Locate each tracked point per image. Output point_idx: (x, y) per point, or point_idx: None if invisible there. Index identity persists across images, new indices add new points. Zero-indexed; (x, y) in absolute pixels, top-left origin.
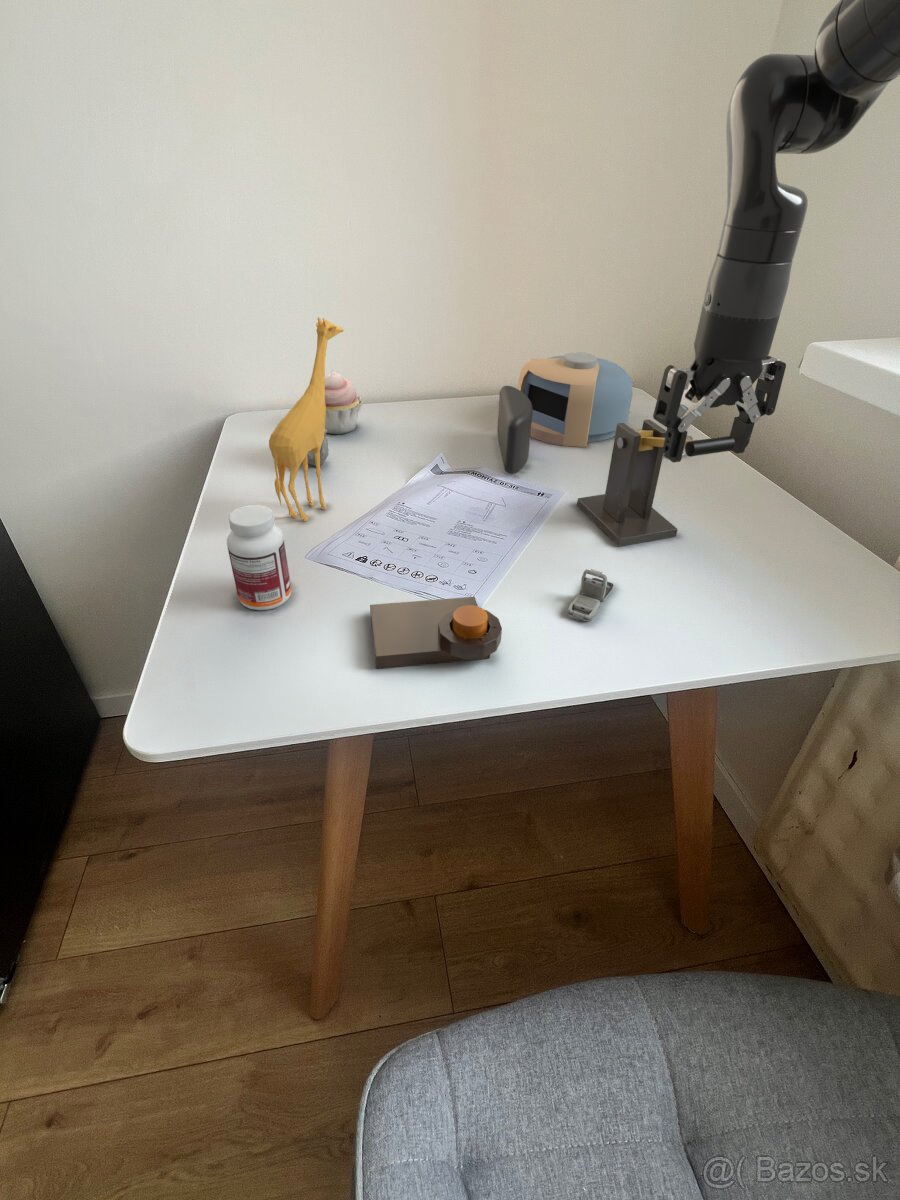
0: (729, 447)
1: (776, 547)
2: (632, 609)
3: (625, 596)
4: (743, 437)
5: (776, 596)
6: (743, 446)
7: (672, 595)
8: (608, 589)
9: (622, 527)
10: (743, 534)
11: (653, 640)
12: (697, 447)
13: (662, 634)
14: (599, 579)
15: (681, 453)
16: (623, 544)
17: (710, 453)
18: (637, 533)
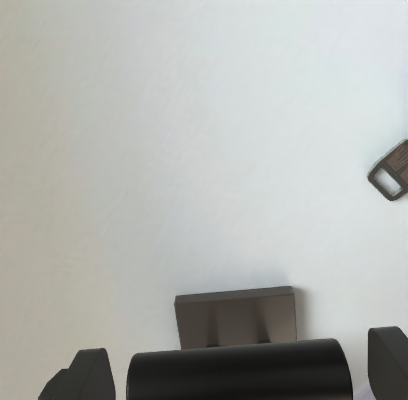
0: (156, 358)
1: (15, 232)
2: (364, 107)
3: (356, 146)
4: (78, 397)
5: (90, 93)
6: (80, 365)
7: (273, 133)
8: (385, 163)
9: (270, 326)
10: (54, 280)
11: (378, 11)
12: (327, 363)
13: (353, 25)
14: (384, 194)
15: (394, 347)
16: (281, 288)
17: (239, 345)
18: (253, 304)
